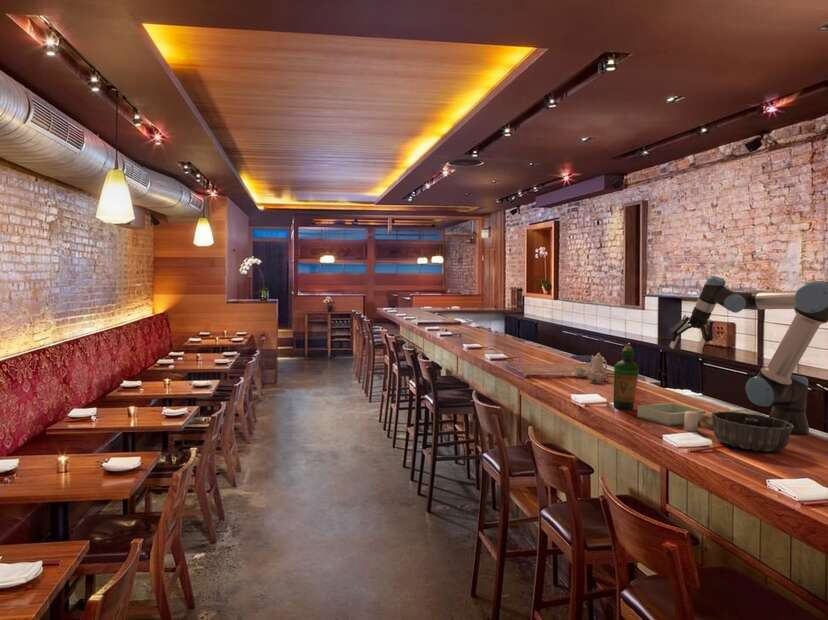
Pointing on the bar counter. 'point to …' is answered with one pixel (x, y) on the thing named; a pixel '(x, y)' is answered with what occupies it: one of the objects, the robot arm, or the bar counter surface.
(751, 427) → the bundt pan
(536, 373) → the bar counter surface
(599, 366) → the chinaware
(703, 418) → the cube
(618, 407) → the bottle
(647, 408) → the tote
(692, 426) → the cylinder
